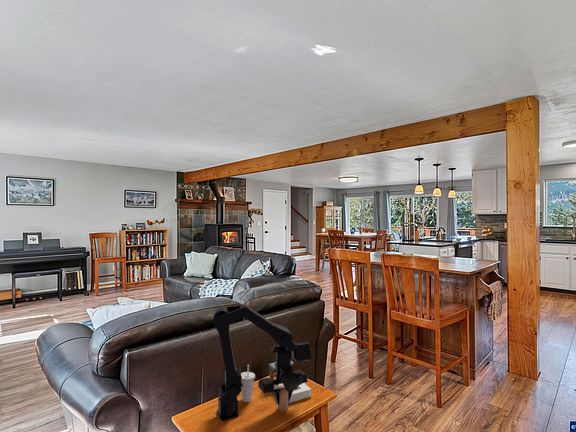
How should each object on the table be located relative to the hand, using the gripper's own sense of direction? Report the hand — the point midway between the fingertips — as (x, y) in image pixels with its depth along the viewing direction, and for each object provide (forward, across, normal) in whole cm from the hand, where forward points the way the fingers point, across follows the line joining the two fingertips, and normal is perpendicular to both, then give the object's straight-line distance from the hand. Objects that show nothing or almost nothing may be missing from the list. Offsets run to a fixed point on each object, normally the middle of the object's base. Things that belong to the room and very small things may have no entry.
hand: (283, 402), depth 127 cm
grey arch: (+2, +8, +17) cm, 19 cm away
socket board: (+2, +8, +7) cm, 11 cm away
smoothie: (+2, -10, +12) cm, 16 cm away
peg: (+2, 0, 0) cm, 2 cm away
